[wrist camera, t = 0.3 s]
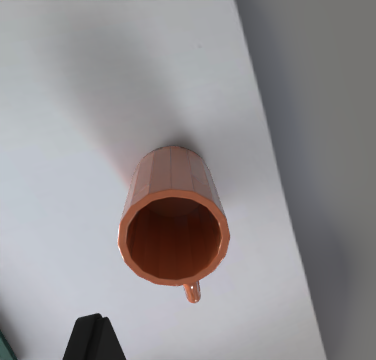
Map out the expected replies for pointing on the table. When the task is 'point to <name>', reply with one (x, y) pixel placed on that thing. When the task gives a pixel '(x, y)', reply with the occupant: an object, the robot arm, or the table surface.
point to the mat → (5, 349)
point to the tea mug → (173, 221)
